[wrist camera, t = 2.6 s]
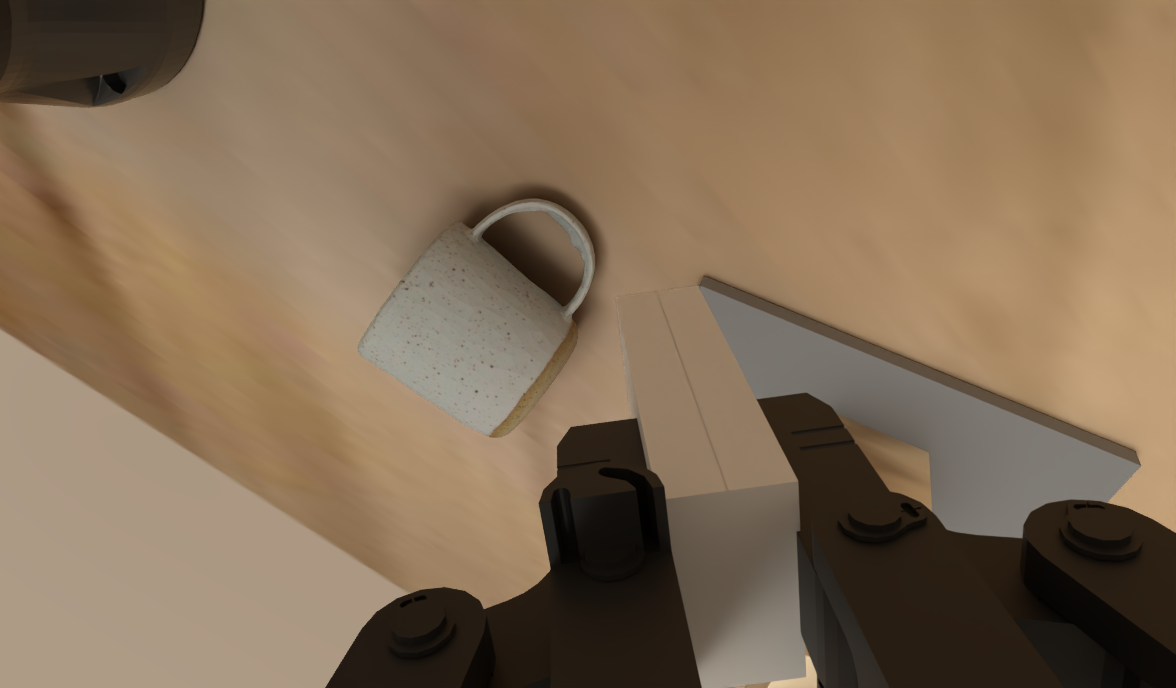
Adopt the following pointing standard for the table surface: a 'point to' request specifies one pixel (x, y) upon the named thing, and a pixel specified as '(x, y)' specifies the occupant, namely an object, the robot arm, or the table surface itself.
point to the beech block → (901, 474)
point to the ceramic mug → (478, 326)
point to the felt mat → (925, 417)
